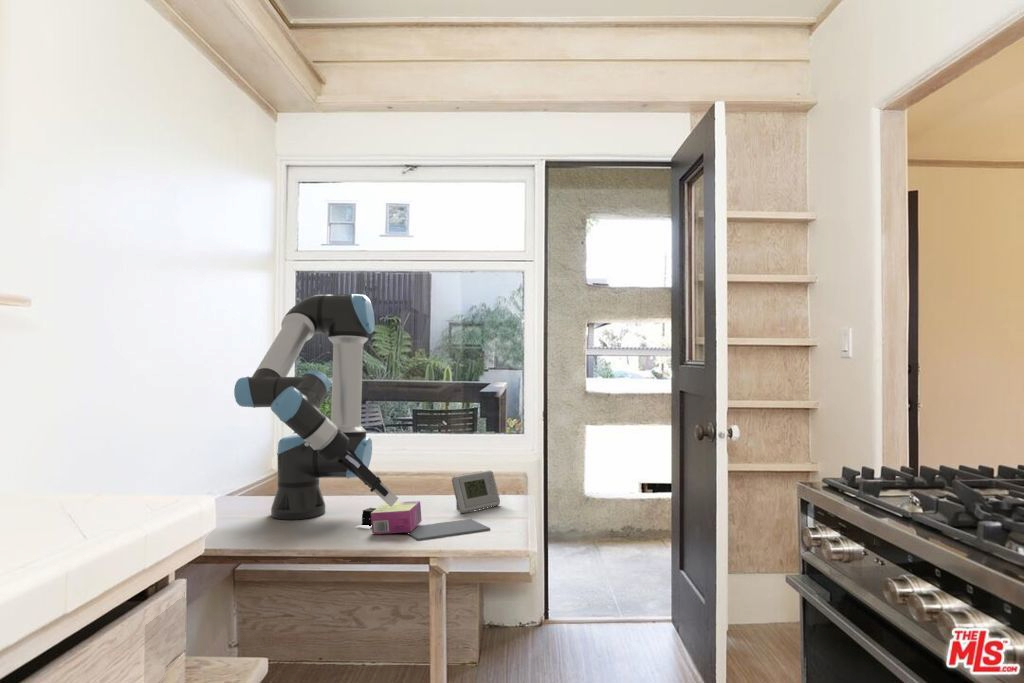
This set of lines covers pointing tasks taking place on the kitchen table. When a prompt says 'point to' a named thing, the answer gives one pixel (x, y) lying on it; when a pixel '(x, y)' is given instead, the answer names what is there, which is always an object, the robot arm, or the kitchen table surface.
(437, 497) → the kitchen table surface
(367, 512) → the black slotted mount bracket
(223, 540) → the kitchen table surface
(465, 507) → the digital clock
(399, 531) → the box
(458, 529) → the mat
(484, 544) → the kitchen table surface
